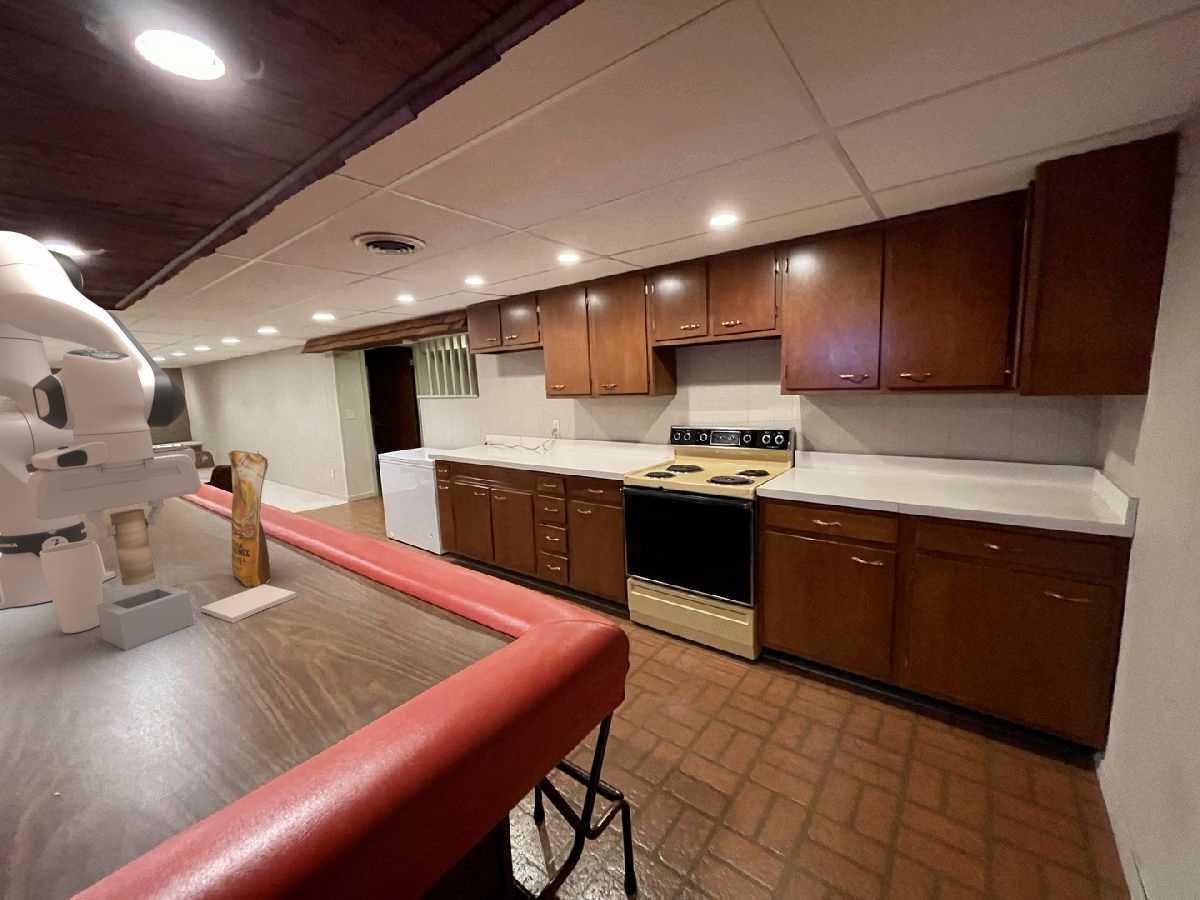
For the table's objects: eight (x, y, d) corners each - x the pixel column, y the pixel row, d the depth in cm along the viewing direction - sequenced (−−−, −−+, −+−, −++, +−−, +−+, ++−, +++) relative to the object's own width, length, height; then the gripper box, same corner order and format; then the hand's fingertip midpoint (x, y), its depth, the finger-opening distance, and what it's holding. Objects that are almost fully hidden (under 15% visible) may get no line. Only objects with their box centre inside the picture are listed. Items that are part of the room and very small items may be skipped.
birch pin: (118, 583, 79) (105, 514, 78) (149, 574, 83) (137, 508, 81) (128, 587, 77) (115, 516, 76) (159, 577, 81) (148, 510, 79)
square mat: (201, 612, 88) (200, 607, 88) (264, 588, 98) (264, 584, 97) (233, 623, 83) (232, 617, 83) (296, 597, 93) (296, 592, 92)
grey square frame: (102, 639, 79) (95, 605, 78) (169, 615, 87) (164, 584, 86) (125, 650, 75) (118, 614, 74) (194, 624, 83) (188, 591, 82)
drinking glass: (74, 638, 80) (57, 553, 78) (45, 636, 81) (27, 552, 79) (121, 619, 87) (106, 540, 85) (93, 617, 88) (78, 539, 86)
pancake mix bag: (262, 563, 113) (245, 448, 110) (286, 581, 101) (268, 452, 97) (227, 572, 108) (208, 452, 105) (248, 593, 96) (227, 457, 92)
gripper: (184, 441, 88) (195, 513, 90) (14, 458, 70) (33, 548, 72) (201, 442, 85) (213, 517, 87) (29, 460, 67) (48, 553, 69)
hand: (130, 531), depth 79 cm, fingers closed on birch pin, 4 cm apart
